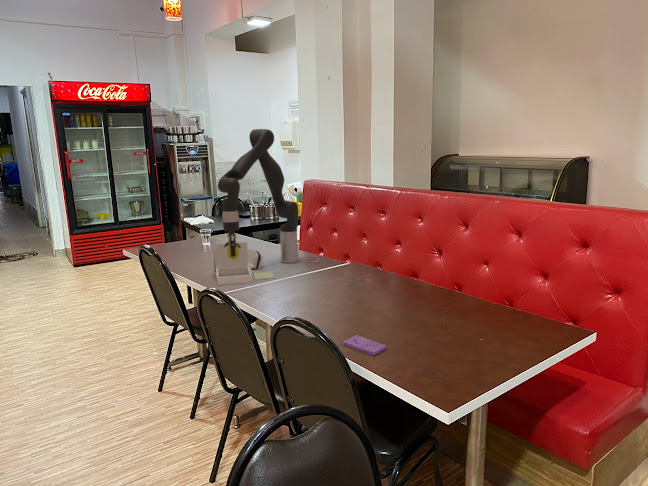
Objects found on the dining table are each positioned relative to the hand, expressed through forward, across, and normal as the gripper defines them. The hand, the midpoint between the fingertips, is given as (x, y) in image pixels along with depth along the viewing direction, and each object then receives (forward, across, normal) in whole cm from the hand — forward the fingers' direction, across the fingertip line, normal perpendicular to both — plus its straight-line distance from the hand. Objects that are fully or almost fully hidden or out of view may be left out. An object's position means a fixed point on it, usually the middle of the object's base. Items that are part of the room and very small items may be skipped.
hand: (232, 254), depth 235 cm
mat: (+12, 0, -14) cm, 19 cm away
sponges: (+12, -93, -35) cm, 101 cm away
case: (+12, +1, +1) cm, 12 cm away
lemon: (+3, 0, 0) cm, 3 cm away
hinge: (+12, +22, -11) cm, 28 cm away
